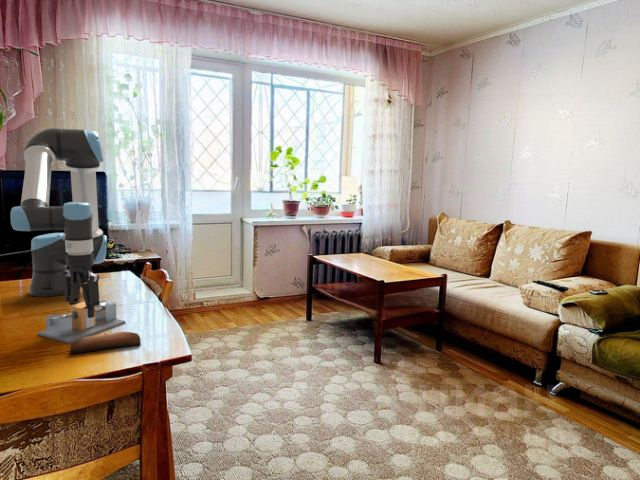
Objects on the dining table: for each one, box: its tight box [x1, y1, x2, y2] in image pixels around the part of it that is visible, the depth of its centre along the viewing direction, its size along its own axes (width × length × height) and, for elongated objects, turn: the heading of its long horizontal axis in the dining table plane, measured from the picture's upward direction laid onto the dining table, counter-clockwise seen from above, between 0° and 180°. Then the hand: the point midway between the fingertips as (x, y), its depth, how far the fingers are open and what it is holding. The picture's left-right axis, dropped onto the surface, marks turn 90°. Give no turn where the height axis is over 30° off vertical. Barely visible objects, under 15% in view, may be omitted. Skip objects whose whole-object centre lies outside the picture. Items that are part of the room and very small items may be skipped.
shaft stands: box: [45, 299, 118, 338], centre depth 142 cm, size 6×20×6 cm, turn 155°
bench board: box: [37, 318, 126, 344], centre depth 142 cm, size 14×20×1 cm
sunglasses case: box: [69, 331, 142, 355], centre depth 130 cm, size 18×7×7 cm
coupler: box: [69, 301, 96, 330], centre depth 142 cm, size 5×5×7 cm
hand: (83, 325), depth 142 cm, fingers closed on coupler, 5 cm apart
